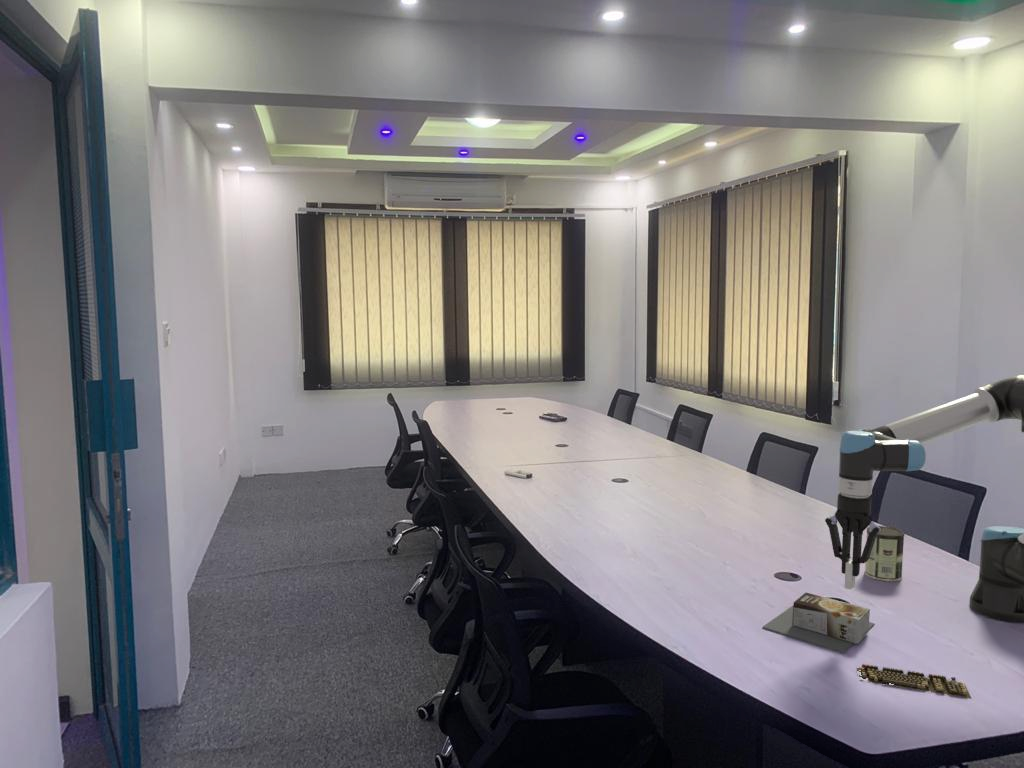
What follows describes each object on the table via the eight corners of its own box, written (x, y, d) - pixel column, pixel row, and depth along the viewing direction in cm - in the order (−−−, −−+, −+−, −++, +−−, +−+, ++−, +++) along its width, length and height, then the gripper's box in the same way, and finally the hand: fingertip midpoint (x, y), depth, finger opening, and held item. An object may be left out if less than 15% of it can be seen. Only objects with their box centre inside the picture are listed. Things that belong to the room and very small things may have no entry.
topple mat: (874, 624, 190) (874, 623, 190) (843, 653, 174) (843, 652, 174) (797, 603, 204) (798, 601, 204) (762, 628, 188) (762, 626, 188)
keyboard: (858, 684, 162) (858, 675, 161) (854, 665, 170) (854, 657, 170) (972, 703, 154) (973, 693, 154) (962, 682, 162) (963, 673, 162)
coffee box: (859, 619, 177) (792, 601, 188) (858, 644, 178) (791, 626, 188) (870, 608, 184) (805, 591, 195) (868, 632, 185) (804, 615, 195)
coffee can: (886, 568, 231) (889, 525, 229) (909, 580, 221) (912, 535, 219) (857, 570, 229) (859, 526, 228) (878, 582, 219) (881, 536, 218)
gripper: (821, 492, 182) (817, 584, 185) (877, 502, 173) (872, 598, 176) (833, 487, 188) (828, 576, 190) (888, 496, 179) (882, 590, 181)
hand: (849, 587), depth 183 cm, fingers closed
